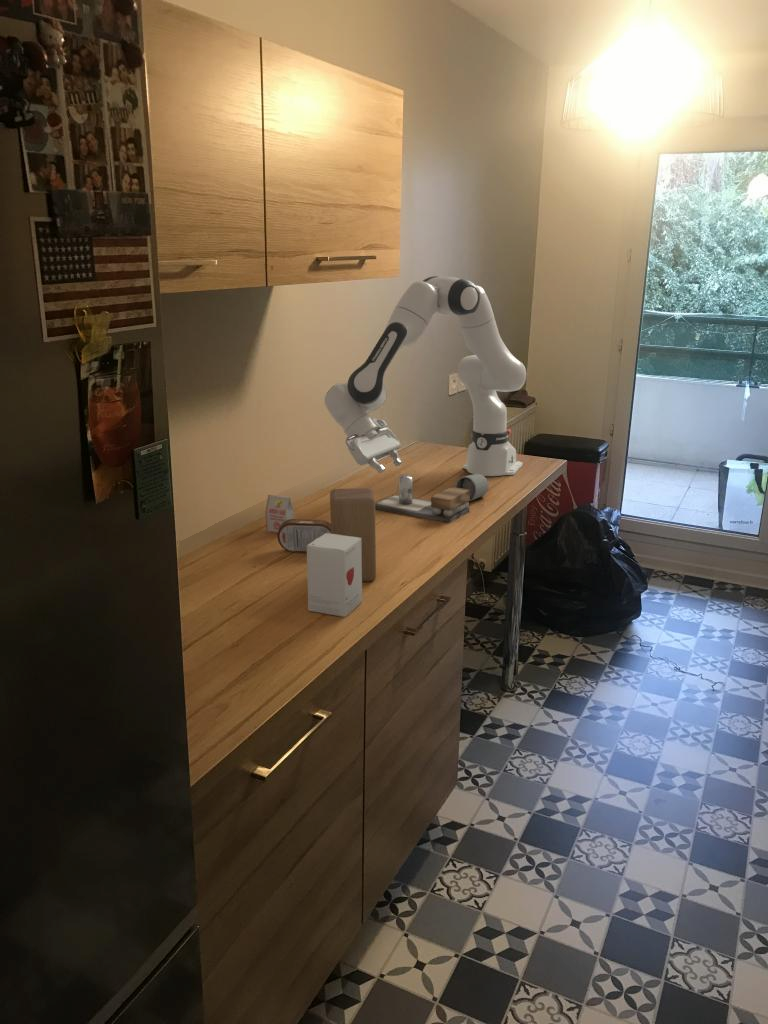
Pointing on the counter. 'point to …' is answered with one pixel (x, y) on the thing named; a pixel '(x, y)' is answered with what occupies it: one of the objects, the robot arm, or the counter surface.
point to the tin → (301, 533)
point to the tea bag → (278, 512)
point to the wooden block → (356, 523)
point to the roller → (405, 489)
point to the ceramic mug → (474, 485)
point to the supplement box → (334, 574)
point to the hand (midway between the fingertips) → (391, 468)
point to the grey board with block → (431, 505)
